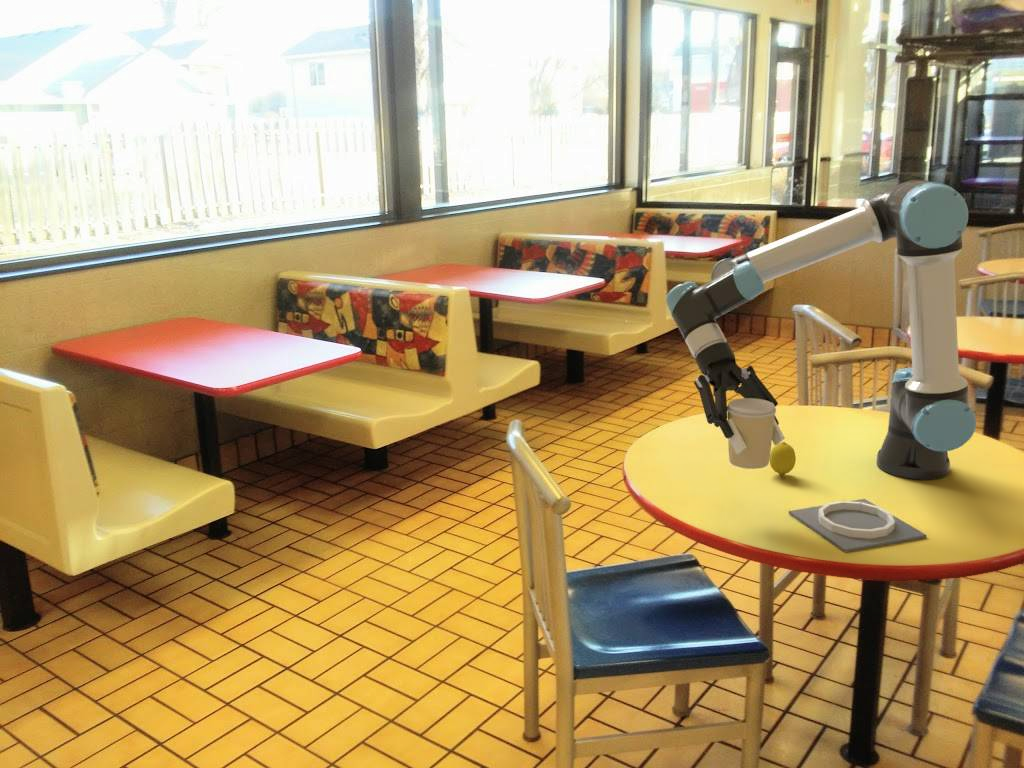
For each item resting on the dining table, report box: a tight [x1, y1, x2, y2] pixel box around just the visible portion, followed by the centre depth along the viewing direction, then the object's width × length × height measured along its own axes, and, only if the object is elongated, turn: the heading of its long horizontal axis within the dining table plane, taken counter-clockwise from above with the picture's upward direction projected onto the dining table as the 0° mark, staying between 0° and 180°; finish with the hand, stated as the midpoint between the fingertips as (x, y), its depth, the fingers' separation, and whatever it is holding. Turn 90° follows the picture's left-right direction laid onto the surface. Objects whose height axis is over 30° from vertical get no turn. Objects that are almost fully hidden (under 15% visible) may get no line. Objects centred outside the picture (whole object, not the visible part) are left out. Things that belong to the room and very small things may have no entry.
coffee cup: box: [727, 397, 777, 470], centre depth 177 cm, size 9×9×12 cm
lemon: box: [769, 441, 797, 477], centre depth 199 cm, size 6×6×8 cm
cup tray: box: [788, 498, 927, 553], centre depth 175 cm, size 18×18×2 cm
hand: (760, 446), depth 174 cm, fingers closed on coffee cup, 9 cm apart
